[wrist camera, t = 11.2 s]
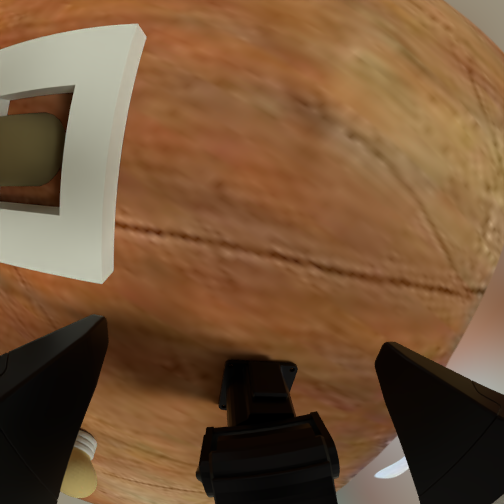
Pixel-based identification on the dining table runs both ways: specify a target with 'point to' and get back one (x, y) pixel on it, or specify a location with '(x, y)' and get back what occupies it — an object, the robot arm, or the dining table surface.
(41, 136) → the olive green peg
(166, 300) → the dining table surface
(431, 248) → the dining table surface
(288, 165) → the dining table surface
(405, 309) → the dining table surface
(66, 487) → the light bulb
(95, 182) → the socket board
